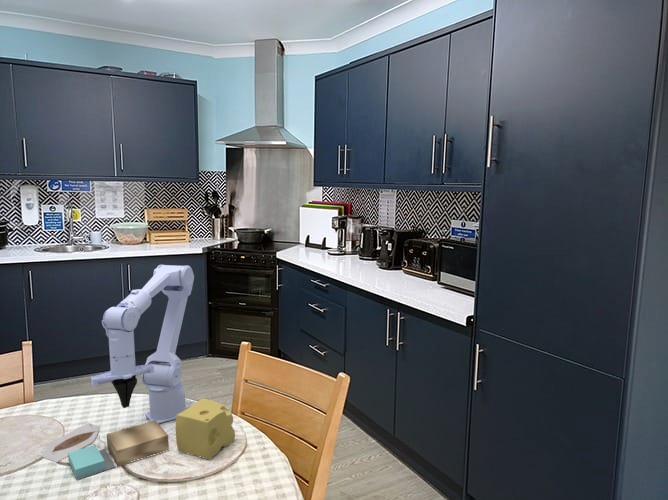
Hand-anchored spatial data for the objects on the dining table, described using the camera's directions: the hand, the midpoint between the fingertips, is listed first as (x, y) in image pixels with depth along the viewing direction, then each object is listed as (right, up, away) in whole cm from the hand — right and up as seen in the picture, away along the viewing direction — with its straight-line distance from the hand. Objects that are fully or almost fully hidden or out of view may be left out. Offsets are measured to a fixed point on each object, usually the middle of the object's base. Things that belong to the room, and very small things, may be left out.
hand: (125, 406), depth 121 cm
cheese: (+20, -11, 0) cm, 23 cm away
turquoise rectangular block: (-6, -9, -9) cm, 14 cm away
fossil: (-14, -11, +3) cm, 18 cm away
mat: (-5, -11, -8) cm, 14 cm away
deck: (+4, -11, -1) cm, 11 cm away
